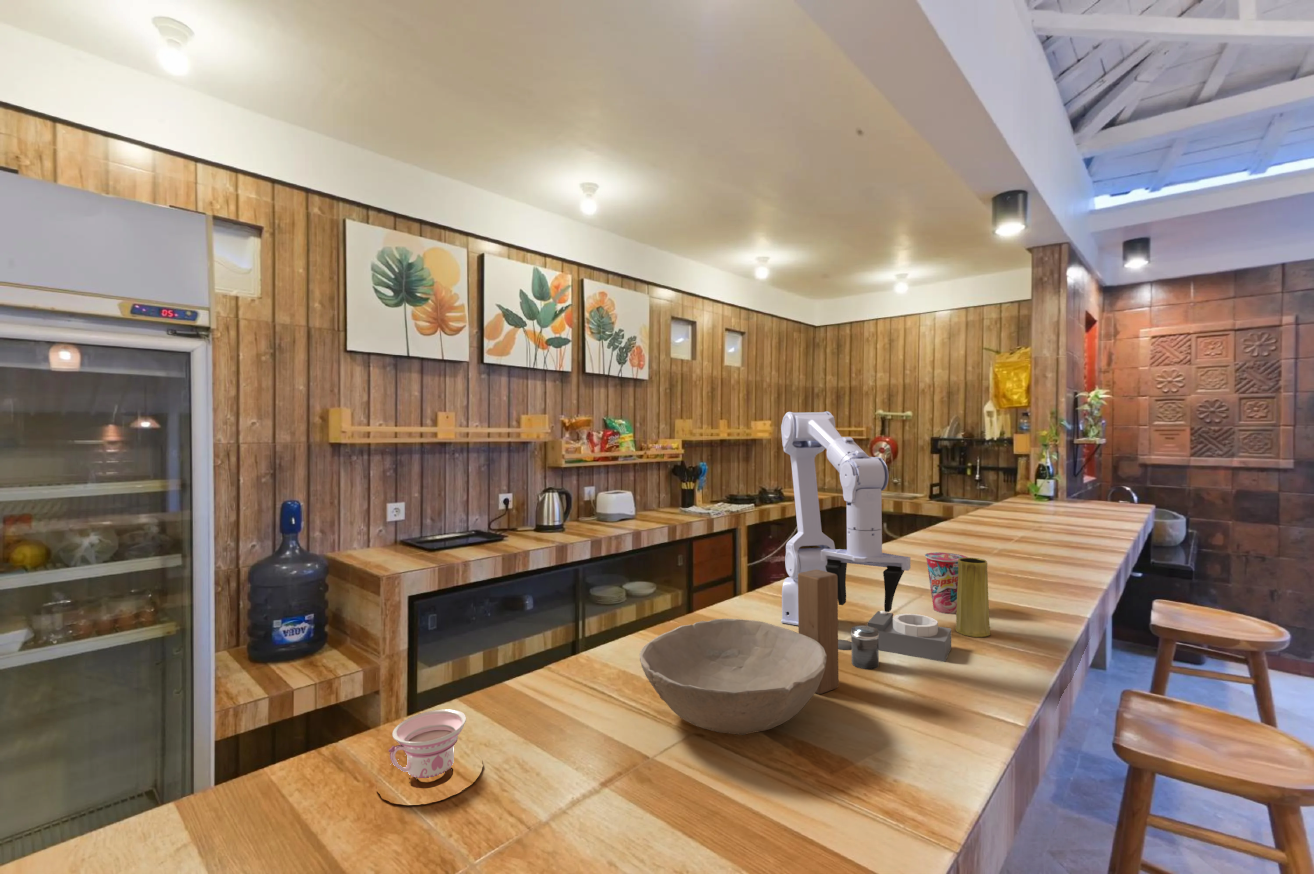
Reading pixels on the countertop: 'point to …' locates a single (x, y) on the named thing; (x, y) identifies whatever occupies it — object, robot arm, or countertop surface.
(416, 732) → the teacup
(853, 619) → the countertop surface
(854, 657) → the lens
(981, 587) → the vase
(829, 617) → the wooden block
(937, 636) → the camera body
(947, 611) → the cup
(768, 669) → the bowl
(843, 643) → the lens cap
